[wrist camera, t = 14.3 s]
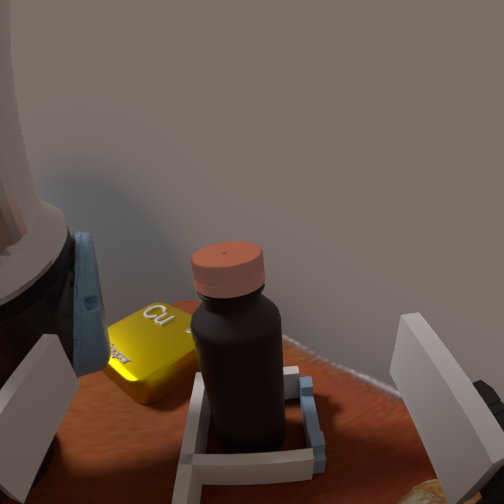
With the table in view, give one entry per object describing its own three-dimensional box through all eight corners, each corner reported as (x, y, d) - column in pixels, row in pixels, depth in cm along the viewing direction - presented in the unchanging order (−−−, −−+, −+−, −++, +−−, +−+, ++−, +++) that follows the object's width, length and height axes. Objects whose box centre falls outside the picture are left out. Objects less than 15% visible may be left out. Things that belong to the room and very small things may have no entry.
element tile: (92, 362, 42) (81, 336, 40) (164, 320, 52) (158, 296, 51) (145, 411, 33) (133, 383, 31) (228, 351, 43) (223, 323, 42)
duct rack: (176, 585, 12) (159, 577, 11) (202, 396, 35) (196, 372, 33) (341, 581, 12) (350, 574, 11) (308, 389, 34) (308, 364, 33)
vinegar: (215, 460, 26) (163, 276, 19) (224, 411, 32) (190, 240, 25) (285, 461, 25) (276, 271, 18) (285, 411, 31) (276, 234, 24)
